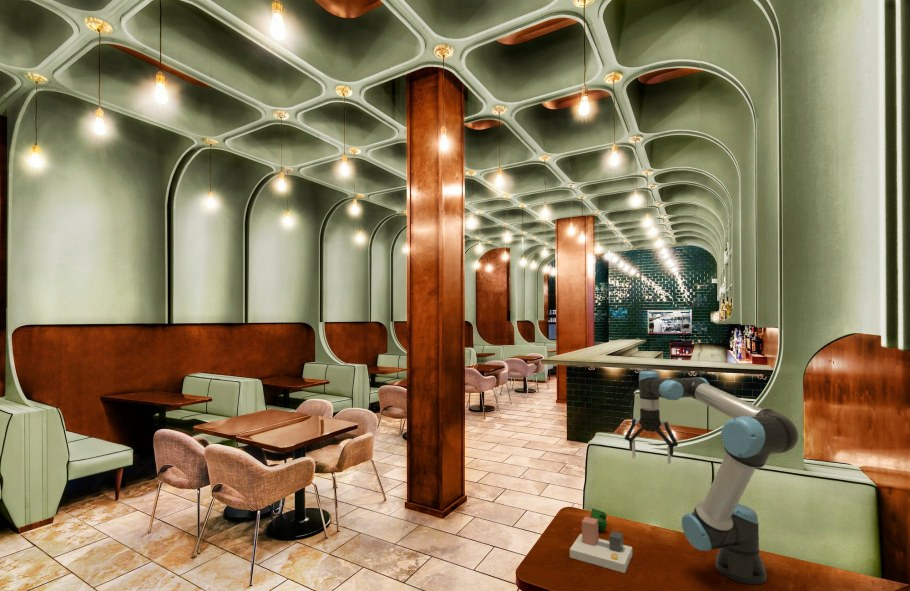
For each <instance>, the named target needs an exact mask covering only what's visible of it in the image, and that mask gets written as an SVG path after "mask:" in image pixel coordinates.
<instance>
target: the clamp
mask: <svg viewBox="0 0 910 591" xmlns="http://www.w3.org/2000/svg"><path fill="white" fill-rule="evenodd" d="M590 518H594V519H598V531H600V532H605V531H606V528H607V526H608V520H607V513H606V512H604V511H601V510H599V509H596V508H591V512H590Z"/></svg>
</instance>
